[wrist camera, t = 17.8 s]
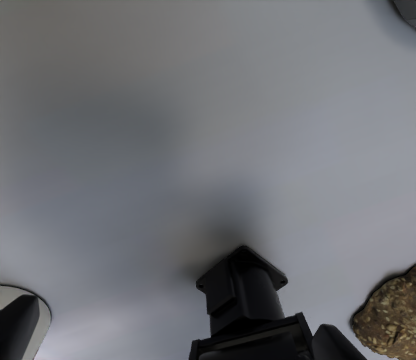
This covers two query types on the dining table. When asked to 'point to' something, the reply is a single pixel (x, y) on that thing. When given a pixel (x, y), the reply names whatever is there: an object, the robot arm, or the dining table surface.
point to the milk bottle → (6, 295)
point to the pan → (407, 10)
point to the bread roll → (390, 319)
